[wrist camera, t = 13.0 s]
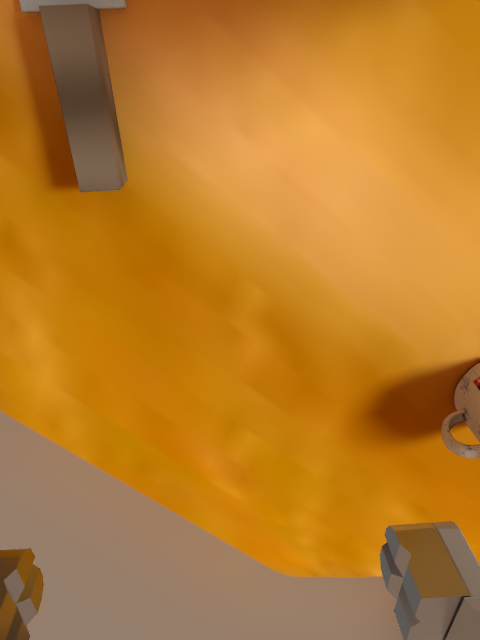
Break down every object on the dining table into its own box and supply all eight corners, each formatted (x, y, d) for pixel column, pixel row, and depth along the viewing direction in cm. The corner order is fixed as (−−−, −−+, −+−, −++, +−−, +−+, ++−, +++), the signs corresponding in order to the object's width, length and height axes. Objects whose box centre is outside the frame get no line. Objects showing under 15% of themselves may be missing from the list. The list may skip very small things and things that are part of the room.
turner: (151, 178, 32) (145, 188, 29) (67, 182, 31) (54, 193, 29) (104, -156, 23) (91, -183, 20) (-13, -152, 23) (-41, -179, 20)
